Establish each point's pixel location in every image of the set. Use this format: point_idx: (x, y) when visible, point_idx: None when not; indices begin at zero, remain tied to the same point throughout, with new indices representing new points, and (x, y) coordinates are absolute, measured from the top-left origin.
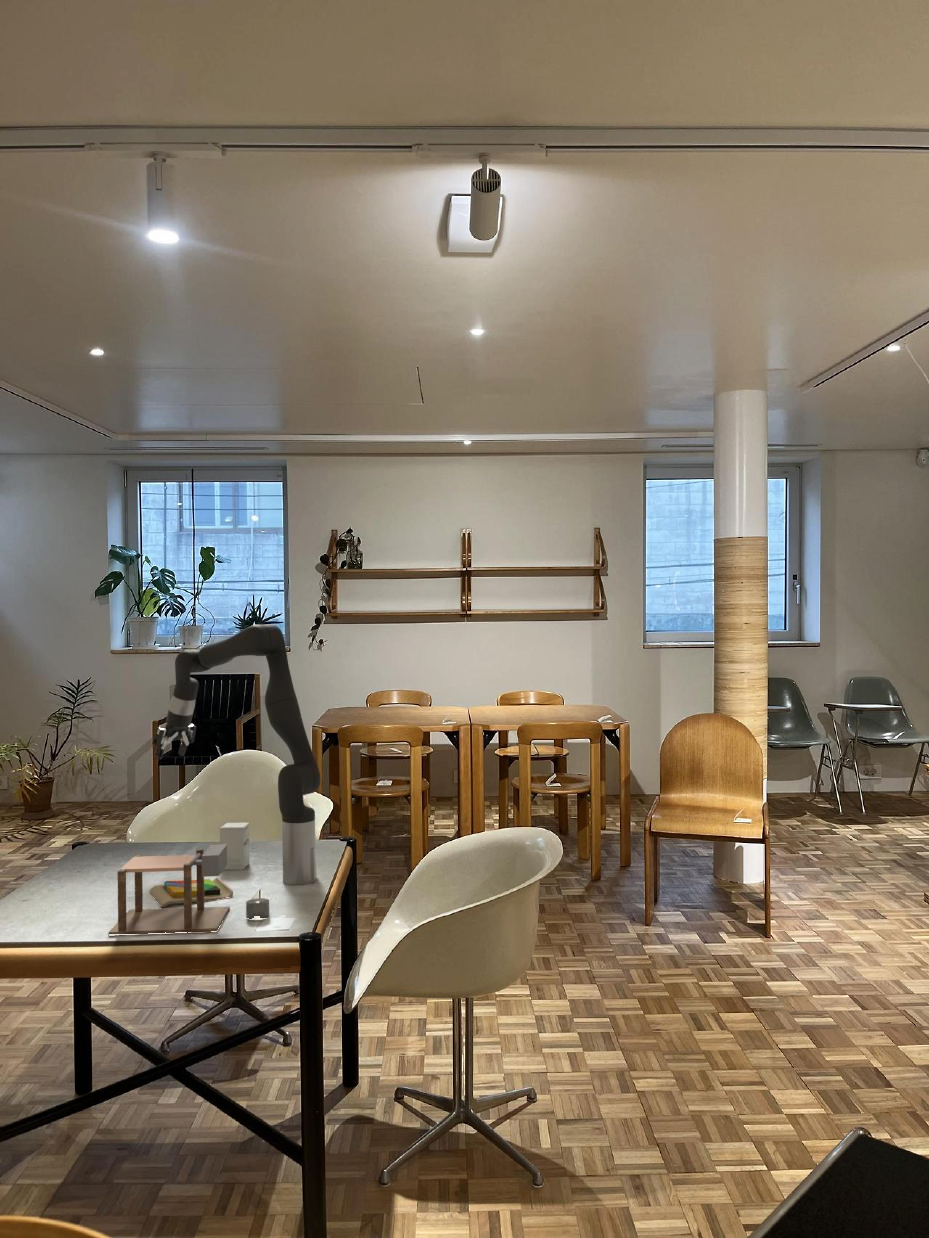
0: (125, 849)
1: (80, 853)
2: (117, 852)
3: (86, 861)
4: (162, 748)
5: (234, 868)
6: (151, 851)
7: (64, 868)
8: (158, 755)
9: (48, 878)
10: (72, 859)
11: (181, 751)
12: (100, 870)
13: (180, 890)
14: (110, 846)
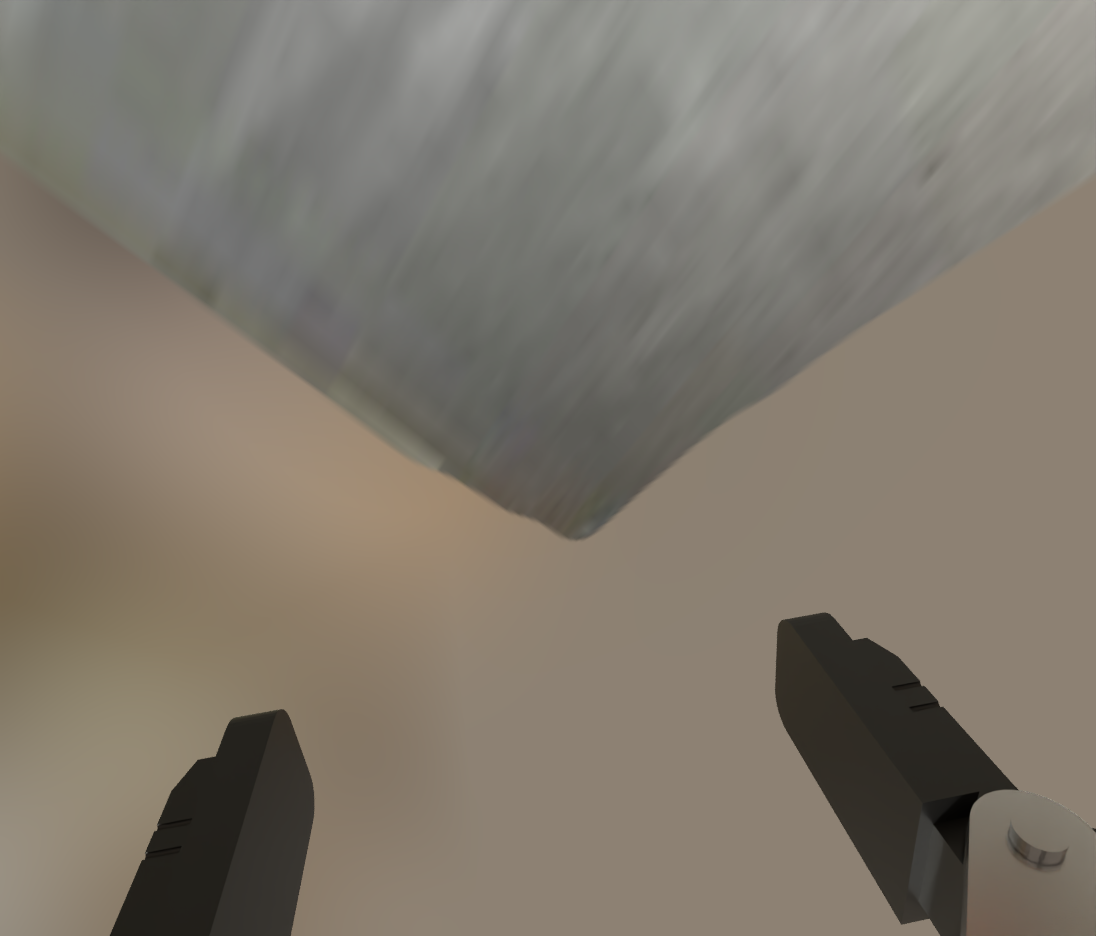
0: (534, 385)
1: (683, 444)
2: (590, 362)
3: (771, 314)
4: (1009, 806)
5: None
6: (473, 260)
7: (902, 272)
8: (908, 671)
9: (1077, 156)
10: (768, 384)
11: (278, 813)
12: (889, 88)
13: None
14: (543, 467)
